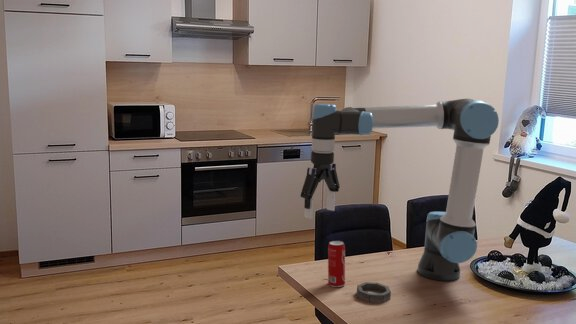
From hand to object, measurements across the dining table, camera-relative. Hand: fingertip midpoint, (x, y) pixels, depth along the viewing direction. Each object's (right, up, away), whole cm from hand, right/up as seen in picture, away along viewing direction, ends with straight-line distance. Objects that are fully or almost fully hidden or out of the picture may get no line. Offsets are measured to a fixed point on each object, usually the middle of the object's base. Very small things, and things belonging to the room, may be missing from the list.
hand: (319, 213), depth 188 cm
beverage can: (+6, -25, +5) cm, 26 cm away
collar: (+17, -27, -4) cm, 32 cm away
